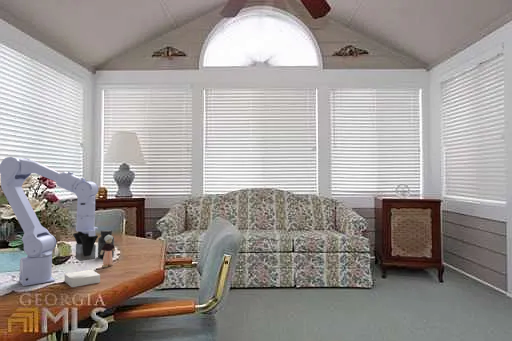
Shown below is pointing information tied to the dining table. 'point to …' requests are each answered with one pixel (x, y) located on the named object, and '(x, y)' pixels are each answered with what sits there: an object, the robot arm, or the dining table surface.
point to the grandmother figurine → (107, 251)
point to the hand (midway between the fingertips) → (84, 254)
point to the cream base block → (82, 278)
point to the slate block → (81, 256)
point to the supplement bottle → (102, 242)
